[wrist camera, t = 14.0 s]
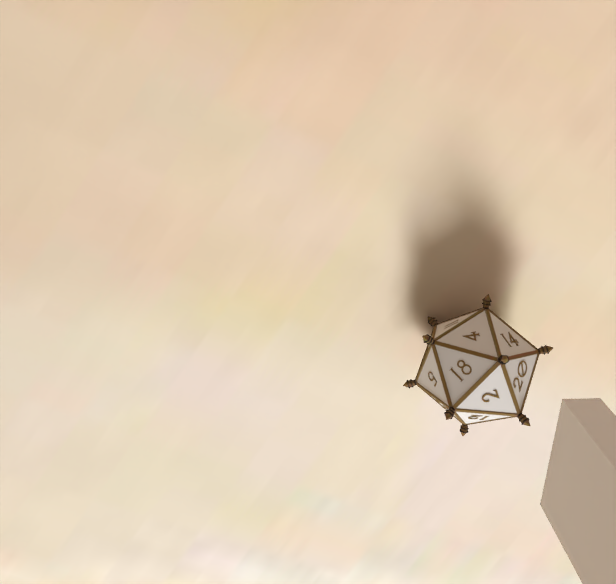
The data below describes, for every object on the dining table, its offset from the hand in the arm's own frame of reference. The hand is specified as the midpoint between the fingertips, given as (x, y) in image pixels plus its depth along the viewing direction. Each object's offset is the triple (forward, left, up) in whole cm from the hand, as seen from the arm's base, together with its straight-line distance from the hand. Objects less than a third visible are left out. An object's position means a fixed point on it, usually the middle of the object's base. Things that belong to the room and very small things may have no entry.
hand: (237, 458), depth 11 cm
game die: (+13, -12, -27) cm, 32 cm away
